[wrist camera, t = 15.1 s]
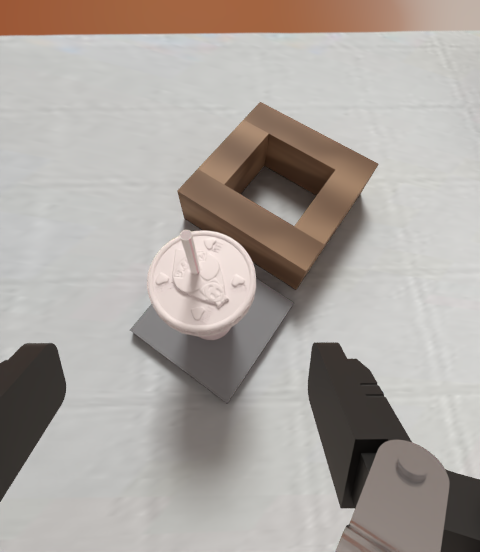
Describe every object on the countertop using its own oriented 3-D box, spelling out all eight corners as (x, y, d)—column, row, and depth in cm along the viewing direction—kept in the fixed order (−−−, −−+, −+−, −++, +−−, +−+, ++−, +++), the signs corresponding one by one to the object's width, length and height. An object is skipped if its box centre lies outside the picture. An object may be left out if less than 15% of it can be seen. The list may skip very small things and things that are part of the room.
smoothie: (216, 269, 30) (204, 163, 16) (264, 322, 28) (293, 250, 15) (158, 314, 28) (93, 236, 15) (205, 373, 26) (180, 344, 13)
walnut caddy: (296, 289, 30) (306, 271, 26) (184, 218, 33) (177, 190, 28) (360, 193, 34) (378, 163, 30) (256, 136, 37) (260, 101, 32)
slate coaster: (227, 403, 26) (227, 403, 25) (133, 332, 28) (129, 330, 27) (292, 305, 29) (294, 302, 29) (203, 247, 31) (202, 242, 30)
